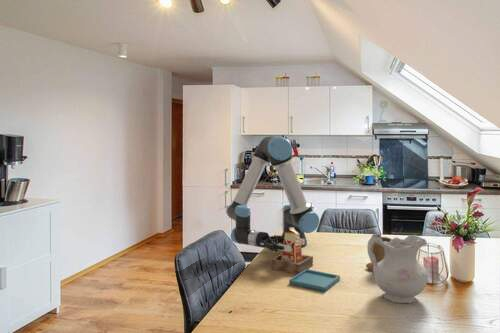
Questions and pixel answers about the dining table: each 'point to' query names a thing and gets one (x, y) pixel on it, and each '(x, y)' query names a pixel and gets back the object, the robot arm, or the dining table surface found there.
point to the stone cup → (378, 252)
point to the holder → (291, 264)
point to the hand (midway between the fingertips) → (297, 245)
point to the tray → (314, 280)
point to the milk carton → (292, 247)
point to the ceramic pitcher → (399, 268)
